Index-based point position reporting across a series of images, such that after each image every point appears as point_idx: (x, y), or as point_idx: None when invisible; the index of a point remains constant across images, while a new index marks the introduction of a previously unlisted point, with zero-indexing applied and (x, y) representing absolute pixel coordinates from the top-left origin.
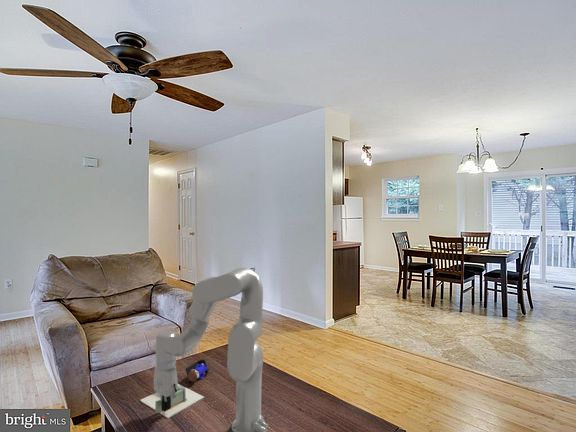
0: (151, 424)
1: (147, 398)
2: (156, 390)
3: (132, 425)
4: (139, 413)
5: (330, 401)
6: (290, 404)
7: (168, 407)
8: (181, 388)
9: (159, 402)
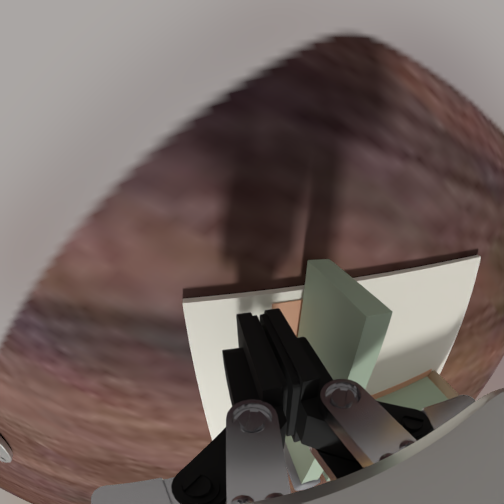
0: (217, 153)
1: (464, 291)
2: (486, 435)
3: (337, 56)
4: (419, 181)
5: (28, 500)
6: (39, 494)
7: (225, 368)
8: (327, 477)
9: (350, 339)
